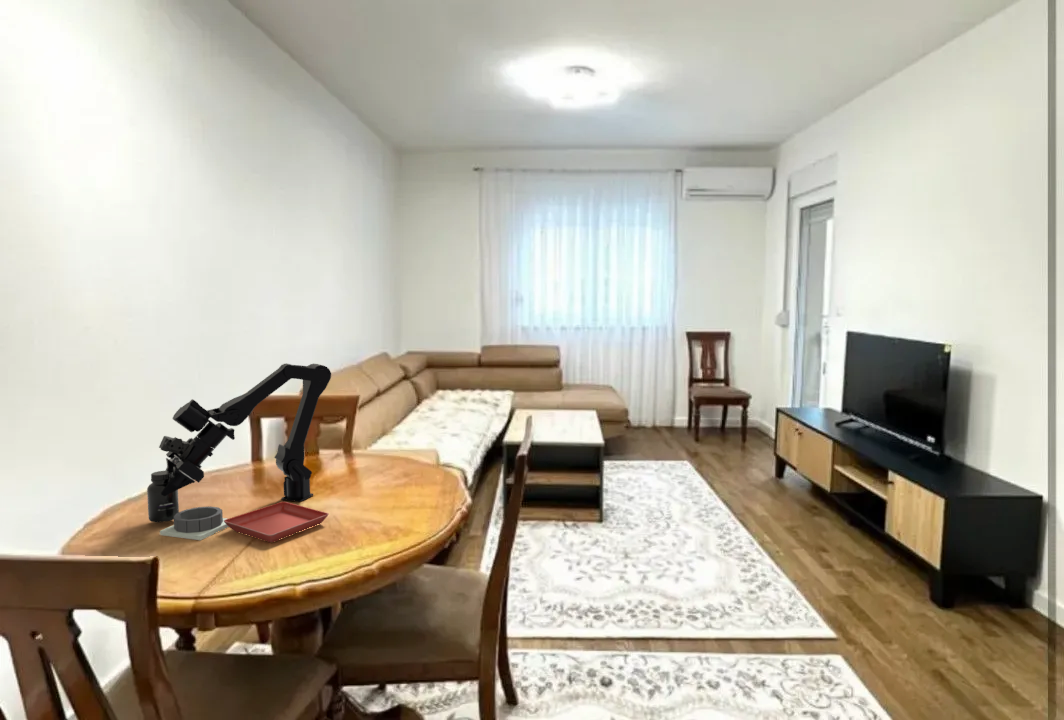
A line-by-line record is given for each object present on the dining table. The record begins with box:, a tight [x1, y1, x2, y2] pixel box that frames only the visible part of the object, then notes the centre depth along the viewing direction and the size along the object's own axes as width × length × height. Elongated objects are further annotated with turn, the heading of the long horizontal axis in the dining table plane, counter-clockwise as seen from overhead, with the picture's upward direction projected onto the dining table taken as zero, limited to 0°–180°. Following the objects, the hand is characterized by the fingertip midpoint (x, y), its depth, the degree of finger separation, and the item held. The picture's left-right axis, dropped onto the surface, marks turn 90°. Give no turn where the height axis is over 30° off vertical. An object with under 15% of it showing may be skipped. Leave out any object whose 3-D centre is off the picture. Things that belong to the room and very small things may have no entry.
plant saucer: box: [224, 501, 329, 543], centre depth 163 cm, size 18×18×3 cm
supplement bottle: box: [146, 470, 180, 523], centre depth 165 cm, size 7×7×12 cm
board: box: [159, 517, 230, 541], centre depth 162 cm, size 12×12×1 cm
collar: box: [173, 506, 224, 533], centre depth 161 cm, size 10×10×3 cm
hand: (160, 491), depth 165 cm, fingers closed on supplement bottle, 7 cm apart
